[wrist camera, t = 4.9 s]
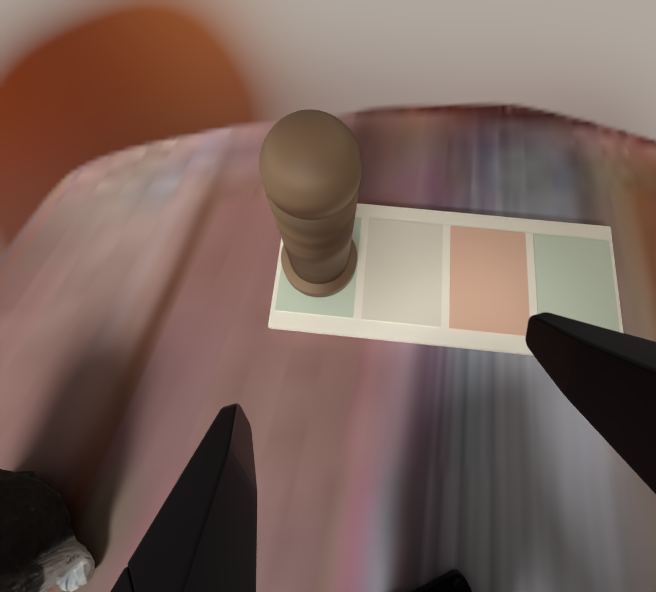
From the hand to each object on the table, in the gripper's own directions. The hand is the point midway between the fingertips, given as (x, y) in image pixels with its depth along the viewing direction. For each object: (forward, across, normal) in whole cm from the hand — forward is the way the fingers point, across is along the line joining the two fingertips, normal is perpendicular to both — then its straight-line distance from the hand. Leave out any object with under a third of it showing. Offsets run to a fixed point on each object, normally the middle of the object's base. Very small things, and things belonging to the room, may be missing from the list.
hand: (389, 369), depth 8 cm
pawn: (+15, 0, +3) cm, 15 cm away
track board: (+13, -8, +6) cm, 17 cm away
